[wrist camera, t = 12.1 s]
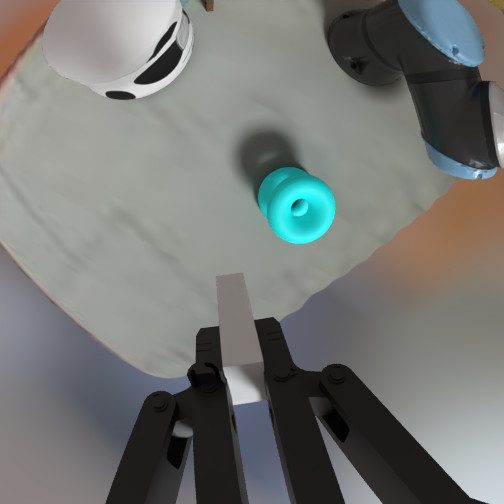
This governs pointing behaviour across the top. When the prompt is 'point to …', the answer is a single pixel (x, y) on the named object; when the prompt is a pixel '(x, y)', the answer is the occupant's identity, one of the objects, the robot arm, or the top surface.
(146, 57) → the milk container
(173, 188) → the top surface
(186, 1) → the block
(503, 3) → the flower pot
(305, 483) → the robot arm
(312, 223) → the donuts
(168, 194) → the top surface
